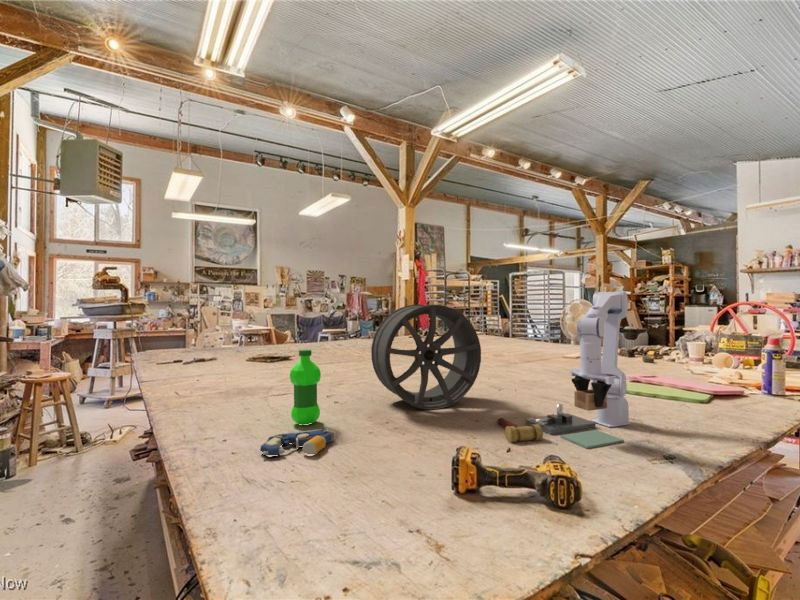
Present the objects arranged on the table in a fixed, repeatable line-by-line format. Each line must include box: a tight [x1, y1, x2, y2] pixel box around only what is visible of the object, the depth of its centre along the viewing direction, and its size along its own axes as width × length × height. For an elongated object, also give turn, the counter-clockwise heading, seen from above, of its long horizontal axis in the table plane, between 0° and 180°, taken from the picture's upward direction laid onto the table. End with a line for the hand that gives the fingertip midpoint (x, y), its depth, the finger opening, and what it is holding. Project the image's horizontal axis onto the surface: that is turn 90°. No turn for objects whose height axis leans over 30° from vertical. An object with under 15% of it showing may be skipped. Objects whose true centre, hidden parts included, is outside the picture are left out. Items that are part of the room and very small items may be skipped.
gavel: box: [496, 417, 544, 443], centre depth 128 cm, size 21×5×10 cm
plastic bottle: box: [289, 348, 322, 425], centre depth 138 cm, size 10×10×25 cm
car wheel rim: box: [370, 304, 482, 411], centre depth 163 cm, size 40×20×40 cm, turn 109°
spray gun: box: [259, 427, 336, 456], centre depth 114 cm, size 21×4×15 cm
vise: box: [524, 403, 597, 436], centre depth 133 cm, size 18×12×7 cm, turn 111°
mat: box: [560, 429, 625, 450], centre depth 119 cm, size 14×10×1 cm
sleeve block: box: [574, 388, 607, 412], centre depth 119 cm, size 7×5×4 cm
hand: (591, 404), depth 119 cm, fingers closed on sleeve block, 5 cm apart
